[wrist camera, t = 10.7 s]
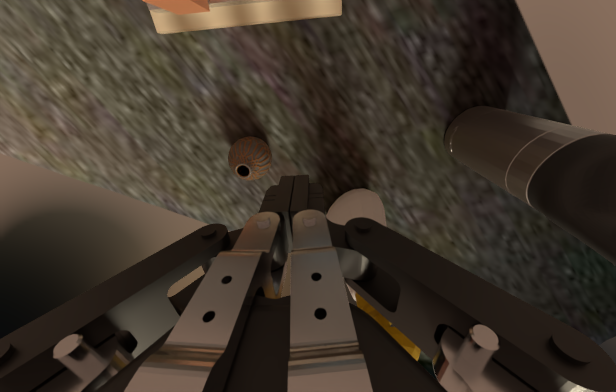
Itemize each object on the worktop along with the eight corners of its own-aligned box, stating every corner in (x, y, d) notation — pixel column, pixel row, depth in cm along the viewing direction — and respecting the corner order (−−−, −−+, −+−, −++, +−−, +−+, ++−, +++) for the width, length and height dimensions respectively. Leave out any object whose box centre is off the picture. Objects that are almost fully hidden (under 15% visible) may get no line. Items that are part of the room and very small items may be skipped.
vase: (258, 124, 38) (245, 139, 30) (281, 156, 41) (276, 177, 33) (227, 145, 40) (208, 164, 32) (252, 175, 43) (240, 199, 35)
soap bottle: (348, 163, 41) (413, 315, 16) (385, 194, 45) (484, 359, 20) (304, 208, 46) (302, 376, 21) (340, 232, 50) (374, 403, 25)
